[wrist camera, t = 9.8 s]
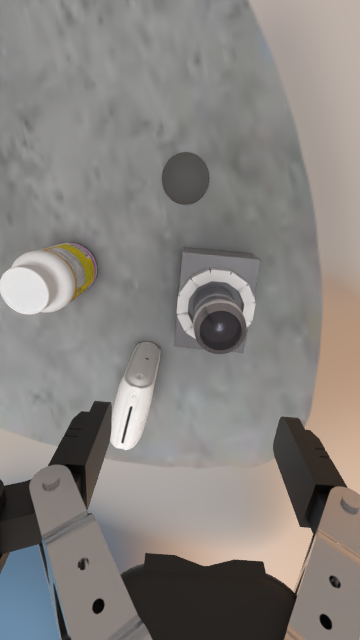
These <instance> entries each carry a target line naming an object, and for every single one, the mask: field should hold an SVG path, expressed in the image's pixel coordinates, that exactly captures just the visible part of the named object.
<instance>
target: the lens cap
mask: <svg viewBox="0 0 360 640" xmlns="http://www.w3.org/2000/svg"><path fill="white" fill-rule="evenodd" d="M162 182H163V187H164V190H165V192H166V193H167V195H168V196H169V197H170V198H171V199H172V200H173V201H175V202H177V203H180V204H191V203H194V202H196V201H198V200H199V199H200V198H201V197H202V196H203V195H204V193H205V192H206V190H207V187H208V183H209V173H208V169H207V166H206V164H205V163H204V161H203V160H202V159H201V158H200V157H198V156H197V155H195V154H193V153H188V152H184V153H179V154H177V155H175V156H173V157H172V158H171V159H170V160H169V161H168V162H167V164H166V165H165V167H164V170H163V175H162Z"/></svg>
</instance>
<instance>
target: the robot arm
mask: <svg viewBox="0 0 360 640" xmlns="http://www.w3.org/2000/svg"><path fill="white" fill-rule="evenodd" d="M111 429H112V406H111V402H101V401H95V402H94V403H93V405H92V407H91V410H90V412H83V411H81V412H80V413H79V414H78V415H77V416H76V417H74V418H73V420H72V422H71V423H70V425H69V427H68V429H67V431H66V433H65V435H64V437H63V439H62V440H61V442H60V444H59V446H58V448H57V450H56V452H55V454H54V456H53V457H52V459H51V461H50V463H49V465H48V466H47V467H45V468H43V469H41V470H40V471H39V472H37V473H36V475H34V477H33V478H32V479H31V480H28V481H25V482H21V483H16V484H11V485H6V486H4V485H3V482H2V481H1V480H0V573H1V570H2V568H3V566H4V564H5V562H6V559H7V557H8V555H9V553H10V552H11V551H15V550H18V549H22V548H26V547H29V546H33V545H37V544H38V546H39V550H40V555H41V558H42V563H43V566H44V571H45V575H46V579H47V583H48V587H49V590H50V595H51V600H52V605H53V610H54V615H55V619H56V623H57V627H58V632H59V635H60V640H359V639H360V495H359V494H358V493H356V492H355V491H353V490H351V489H349V488H347V486H346V484H345V483H344V481H343V479H342V477H341V476H340V474H339V472H338V470H337V469H336V467H335V465H334V464H333V462H332V460H331V459H330V458H329V455H328V453H327V452H326V451H325V448H324V447H323V445H322V443H321V442H320V440H319V438H317V436H315V435H314V434H313V433H312V432H311V431H310V430H305V429H304V427H303V425H302V423H301V421H300V420H299V419H298V418H292V417H281V418H280V420H279V423H278V427H277V431H276V435H275V438H274V443H273V450H274V456H275V459H276V461H277V464H278V467H279V470H280V472H281V475H282V478H283V481H284V483H285V486H286V489H287V492H288V495H289V497H290V500H291V503H292V505H293V508H294V511H295V514H296V516H297V519H298V522H299V525H300V527H308V528H311V530H312V532H313V536H312V539H311V543H310V545H309V548H308V551H307V554H306V557H305V560H304V563H303V566H302V569H301V572H300V575H299V578H298V581H297V584H296V586H295V589H294V592H293V591H292V590H291V589H290V588H288V587H287V586H286V585H285V584H284V583H282V582H281V581H279V580H278V579H276V578H275V577H273V576H271V575H268V574H266V572H265V568H264V563H263V562H260V561H247V560H231V561H227V562H223V563H219V564H215V565H211V566H201V565H199V564H196V563H194V562H191V561H188V560H186V559H183V558H180V557H178V556H175V555H164V554H148V553H146V554H145V563H144V564H141V565H138V566H135V567H133V568H130V569H129V570H127V571H125V572H123V573H122V574H121V575H120V573H119V571H118V569H117V566H116V564H115V562H114V560H113V558H112V555H111V553H110V551H109V548H108V546H107V544H106V542H105V539H104V537H103V535H102V532H101V530H100V528H99V526H98V523H97V521H96V519H95V517H94V515H93V514H92V513H90V514H89V513H88V511H87V510H88V507H89V504H90V501H91V497H92V494H93V491H94V488H95V485H96V482H97V479H98V475H99V473H100V469H101V466H102V463H103V460H104V457H105V454H106V451H107V448H108V445H109V441H110V437H111Z"/></svg>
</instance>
